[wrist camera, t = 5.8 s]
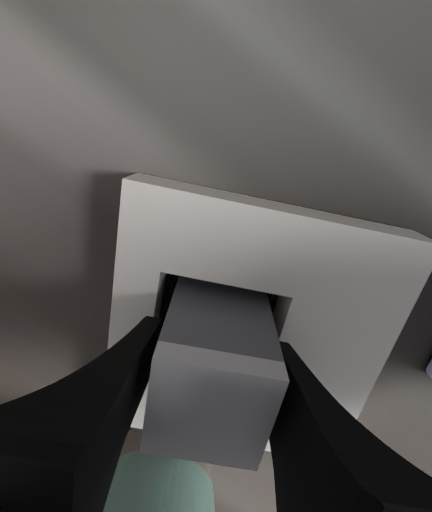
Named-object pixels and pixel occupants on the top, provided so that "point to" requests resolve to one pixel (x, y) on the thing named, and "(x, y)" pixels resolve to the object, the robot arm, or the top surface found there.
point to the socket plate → (274, 273)
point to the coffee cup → (158, 482)
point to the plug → (214, 377)
